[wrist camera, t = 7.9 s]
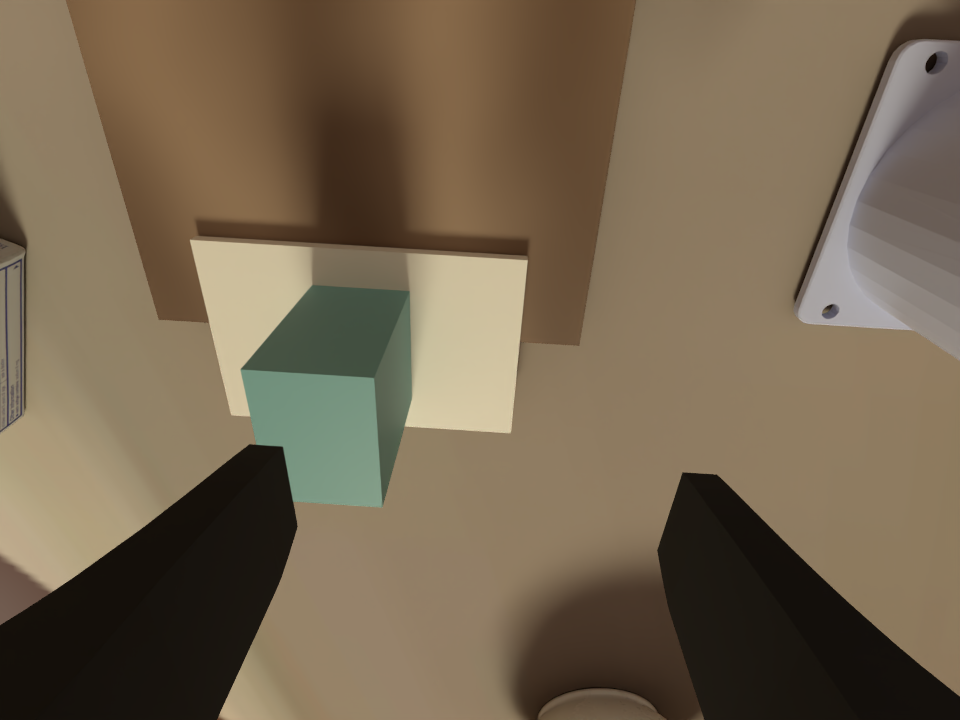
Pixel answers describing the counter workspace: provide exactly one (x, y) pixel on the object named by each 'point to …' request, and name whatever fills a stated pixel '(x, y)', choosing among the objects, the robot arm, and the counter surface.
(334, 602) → the counter surface
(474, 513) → the counter surface
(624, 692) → the lidded bowl
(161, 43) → the board
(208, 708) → the robot arm
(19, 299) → the medicine box
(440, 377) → the cream plaque with block
